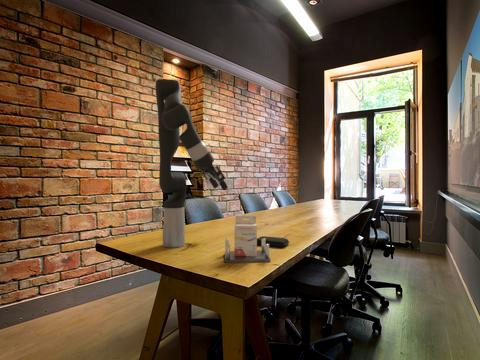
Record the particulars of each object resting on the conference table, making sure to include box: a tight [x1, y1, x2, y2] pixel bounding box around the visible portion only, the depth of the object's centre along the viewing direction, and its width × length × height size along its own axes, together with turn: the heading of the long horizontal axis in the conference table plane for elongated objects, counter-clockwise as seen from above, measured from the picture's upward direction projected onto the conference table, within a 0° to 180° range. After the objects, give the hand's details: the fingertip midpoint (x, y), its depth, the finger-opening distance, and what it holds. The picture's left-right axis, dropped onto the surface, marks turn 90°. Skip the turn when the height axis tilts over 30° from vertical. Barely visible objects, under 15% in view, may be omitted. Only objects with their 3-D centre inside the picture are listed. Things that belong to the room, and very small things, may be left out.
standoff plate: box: [224, 238, 271, 264], centre depth 107 cm, size 16×12×6 cm
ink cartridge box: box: [233, 215, 258, 256], centre depth 107 cm, size 9×5×15 cm, turn 88°
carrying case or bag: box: [257, 235, 290, 249], centre depth 128 cm, size 11×3×15 cm
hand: (221, 188), depth 115 cm, fingers open, 8 cm apart
